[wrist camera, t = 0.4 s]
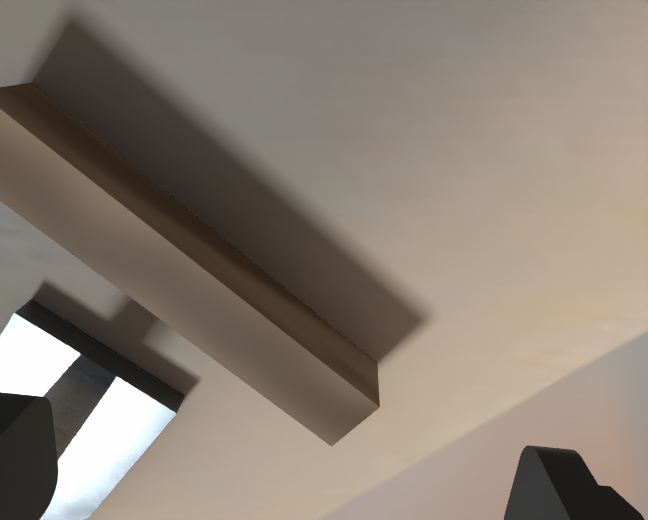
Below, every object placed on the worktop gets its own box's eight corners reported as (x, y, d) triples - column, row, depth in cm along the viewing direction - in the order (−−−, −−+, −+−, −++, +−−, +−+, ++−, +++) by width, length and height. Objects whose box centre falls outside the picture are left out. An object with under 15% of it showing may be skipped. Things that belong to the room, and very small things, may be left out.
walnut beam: (35, 82, 24) (-23, 91, 20) (377, 360, 29) (379, 407, 25) (0, 138, 25) (-60, 156, 22) (335, 396, 30) (331, 446, 27)
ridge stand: (31, 299, 28) (-93, 399, 21) (184, 396, 30) (124, 520, 23) (-81, 483, 35) (-208, 612, 27) (52, 553, 37) (-30, 693, 29)
